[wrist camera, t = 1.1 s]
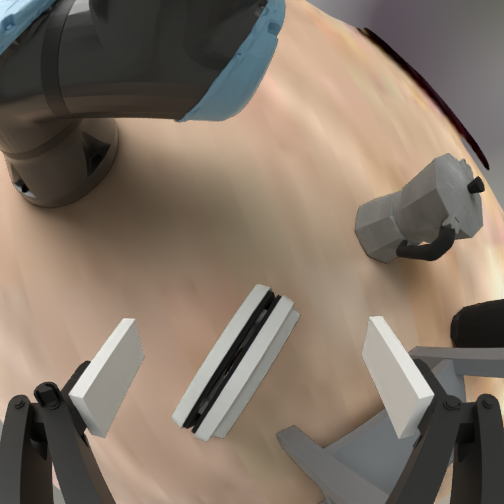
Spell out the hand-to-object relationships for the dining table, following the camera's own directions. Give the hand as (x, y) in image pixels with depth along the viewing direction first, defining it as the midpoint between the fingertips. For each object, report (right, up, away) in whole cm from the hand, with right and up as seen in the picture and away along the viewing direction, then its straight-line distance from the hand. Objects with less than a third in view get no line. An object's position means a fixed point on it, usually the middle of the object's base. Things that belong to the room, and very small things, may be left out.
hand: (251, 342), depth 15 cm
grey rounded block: (-2, -7, +14) cm, 16 cm away
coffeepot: (+17, +7, +22) cm, 29 cm away
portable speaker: (+36, -9, +24) cm, 44 cm away
